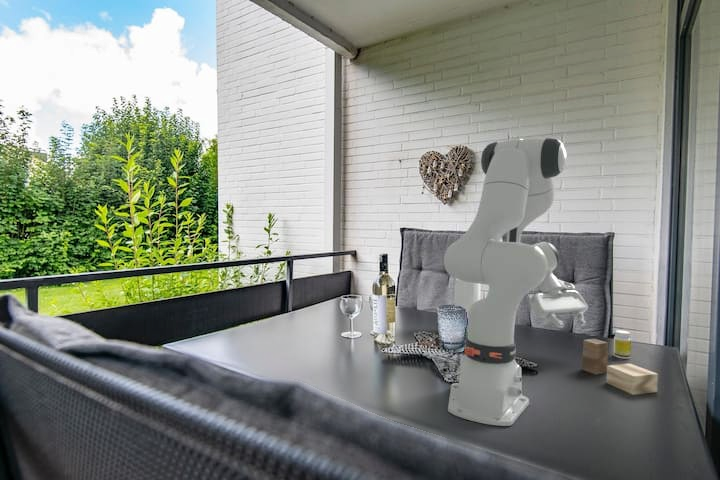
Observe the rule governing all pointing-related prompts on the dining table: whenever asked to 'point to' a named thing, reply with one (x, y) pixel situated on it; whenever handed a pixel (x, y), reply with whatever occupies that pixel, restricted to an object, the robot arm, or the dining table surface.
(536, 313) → the robot arm
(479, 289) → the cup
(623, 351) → the supplement bottle
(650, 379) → the oak block
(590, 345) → the walnut block
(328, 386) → the dining table surface
